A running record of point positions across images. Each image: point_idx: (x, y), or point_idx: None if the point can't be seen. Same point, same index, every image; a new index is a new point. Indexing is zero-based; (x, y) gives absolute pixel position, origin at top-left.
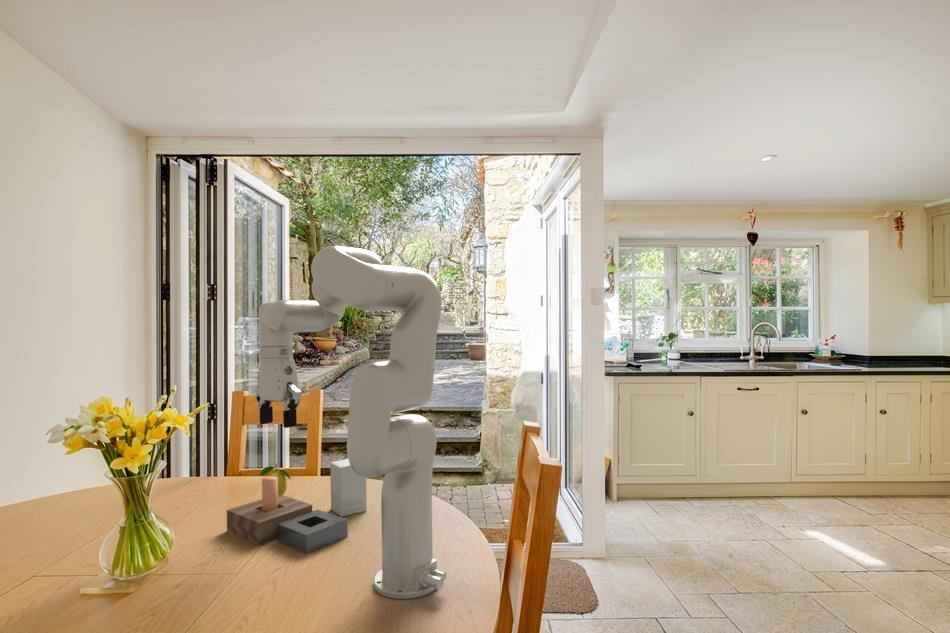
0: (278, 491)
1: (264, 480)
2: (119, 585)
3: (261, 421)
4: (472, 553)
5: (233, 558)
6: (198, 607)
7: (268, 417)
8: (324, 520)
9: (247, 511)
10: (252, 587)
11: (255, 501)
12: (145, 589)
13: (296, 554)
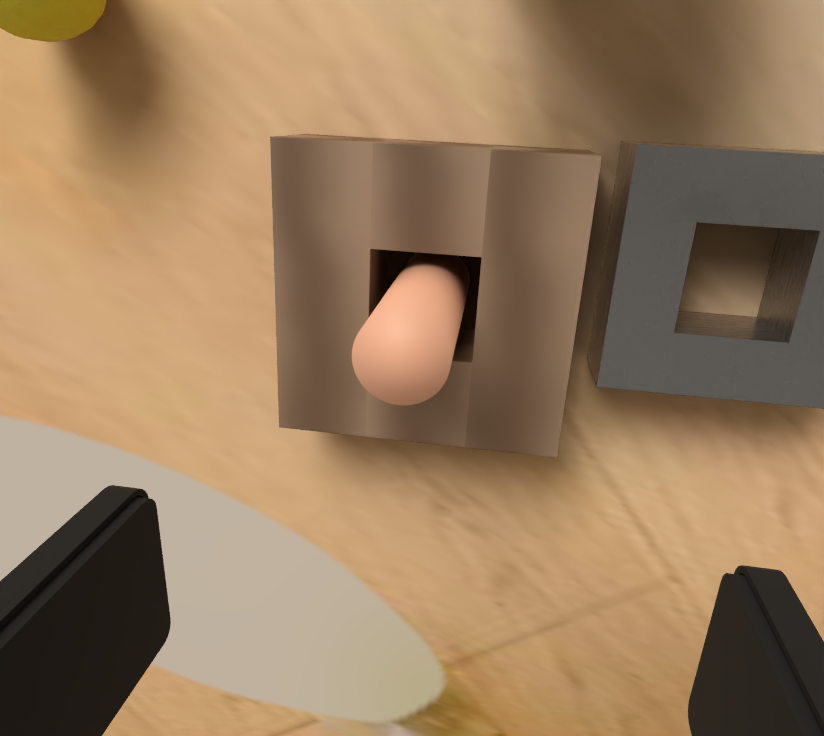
0: (101, 1)
1: (412, 404)
2: (430, 729)
3: (147, 657)
4: None
5: (562, 519)
6: None
7: (117, 602)
8: (780, 227)
9: None
10: None
11: (278, 288)
12: (515, 718)
13: None
